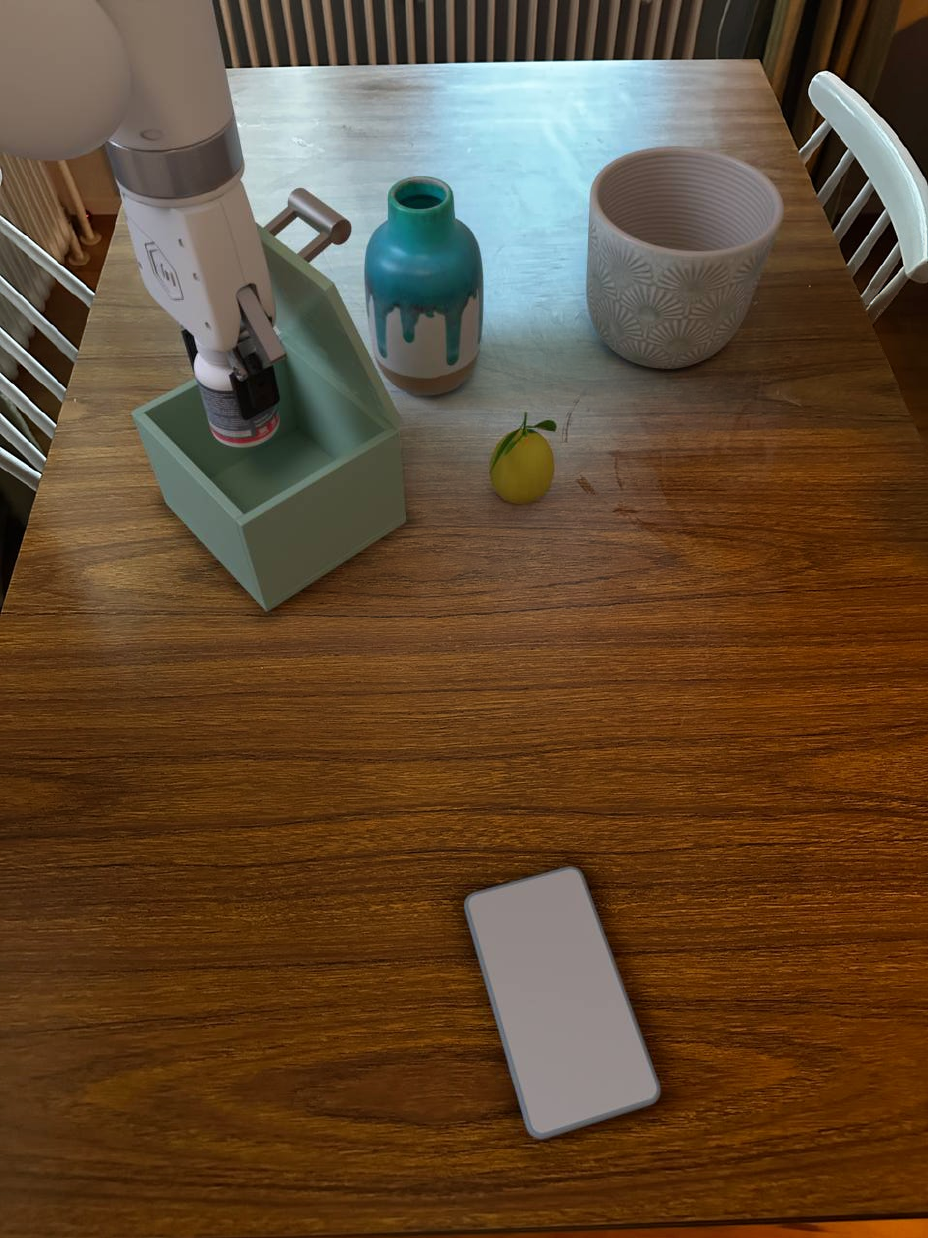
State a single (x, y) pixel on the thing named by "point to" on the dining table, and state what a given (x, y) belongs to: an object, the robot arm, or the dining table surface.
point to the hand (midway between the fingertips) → (236, 386)
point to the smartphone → (559, 1003)
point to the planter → (676, 251)
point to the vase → (424, 290)
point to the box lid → (320, 302)
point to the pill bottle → (230, 400)
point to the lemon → (523, 464)
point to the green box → (280, 479)
